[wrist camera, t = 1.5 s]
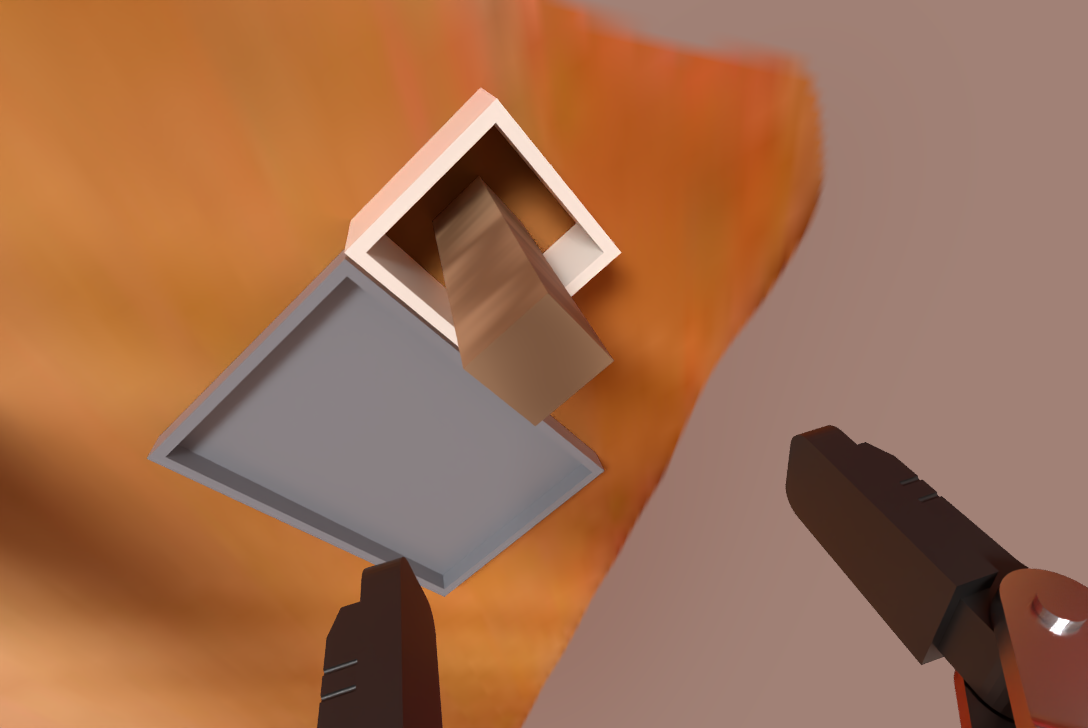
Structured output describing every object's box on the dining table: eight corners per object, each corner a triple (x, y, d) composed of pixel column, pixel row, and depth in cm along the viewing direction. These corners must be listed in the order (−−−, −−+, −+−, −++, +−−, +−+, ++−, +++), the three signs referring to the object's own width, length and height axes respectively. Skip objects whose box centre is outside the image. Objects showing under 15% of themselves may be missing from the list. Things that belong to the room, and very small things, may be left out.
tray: (442, 575, 40) (444, 596, 39) (159, 436, 29) (146, 458, 28) (596, 453, 38) (604, 470, 36) (347, 246, 26) (344, 258, 25)
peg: (477, 264, 28) (535, 426, 17) (432, 221, 27) (462, 368, 15) (521, 222, 28) (613, 360, 16) (478, 175, 26) (548, 292, 14)
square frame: (475, 328, 30) (487, 370, 27) (350, 220, 26) (344, 252, 22) (591, 223, 29) (621, 252, 25) (480, 87, 24) (496, 98, 20)
